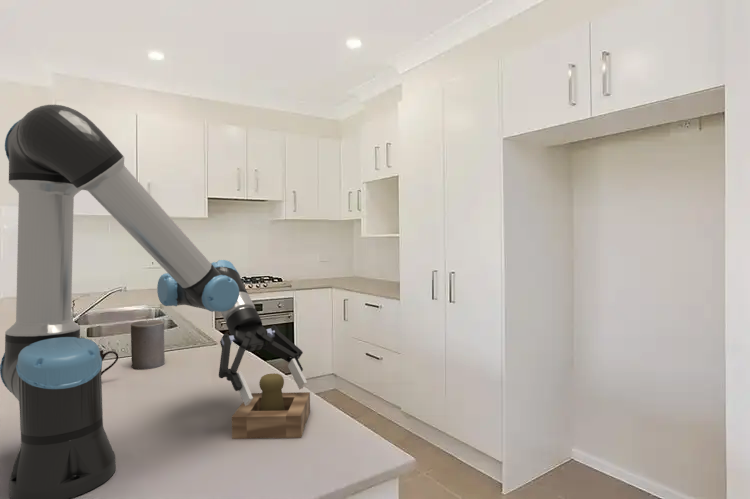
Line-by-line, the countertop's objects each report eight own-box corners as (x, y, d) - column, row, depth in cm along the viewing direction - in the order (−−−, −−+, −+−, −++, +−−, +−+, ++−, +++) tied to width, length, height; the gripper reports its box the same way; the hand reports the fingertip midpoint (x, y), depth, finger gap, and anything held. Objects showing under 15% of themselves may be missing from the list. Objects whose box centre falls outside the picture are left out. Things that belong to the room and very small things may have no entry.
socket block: (301, 437, 95) (300, 415, 95) (232, 438, 95) (231, 416, 95) (310, 411, 109) (309, 392, 109) (250, 412, 109) (249, 393, 109)
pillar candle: (124, 368, 146) (123, 321, 146) (146, 360, 156) (145, 315, 155) (151, 370, 144) (149, 322, 143) (171, 362, 154) (170, 316, 153)
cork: (274, 417, 106) (273, 369, 106) (292, 423, 102) (291, 374, 102) (252, 425, 102) (251, 375, 101) (270, 433, 98) (269, 381, 97)
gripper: (279, 318, 122) (316, 388, 112) (184, 334, 104) (217, 419, 94) (291, 300, 118) (330, 371, 108) (193, 313, 100) (229, 399, 90)
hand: (277, 393), depth 101 cm, fingers open, 13 cm apart
